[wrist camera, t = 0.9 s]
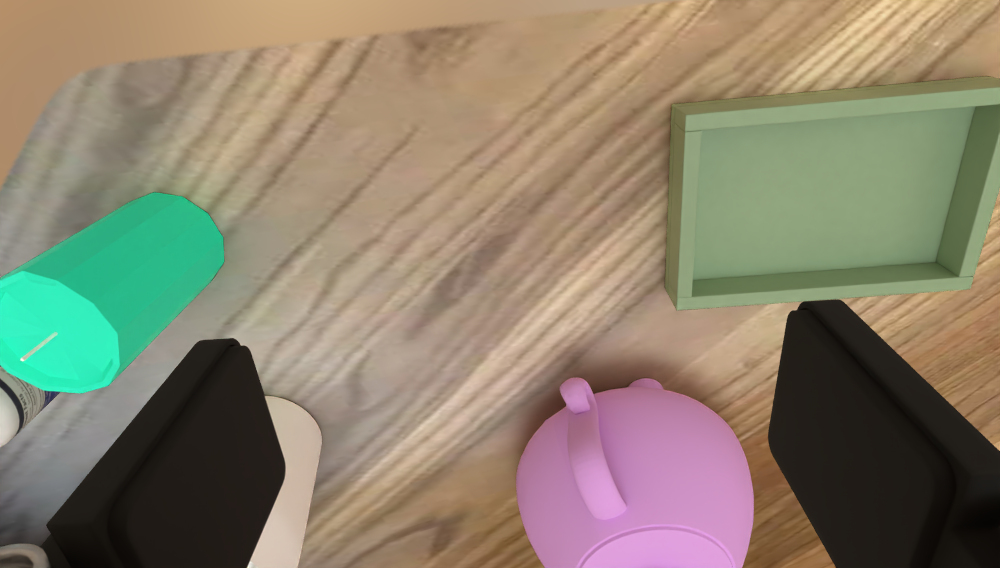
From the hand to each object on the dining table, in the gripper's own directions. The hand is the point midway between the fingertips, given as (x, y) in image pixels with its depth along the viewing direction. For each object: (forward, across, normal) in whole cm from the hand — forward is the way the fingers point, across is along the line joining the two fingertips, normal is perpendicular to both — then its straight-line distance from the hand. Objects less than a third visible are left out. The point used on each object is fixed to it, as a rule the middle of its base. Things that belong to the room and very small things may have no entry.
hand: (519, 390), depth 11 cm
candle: (+23, +20, +6) cm, 31 cm away
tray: (+23, -16, +5) cm, 29 cm away
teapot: (+23, -6, +23) cm, 33 cm away
